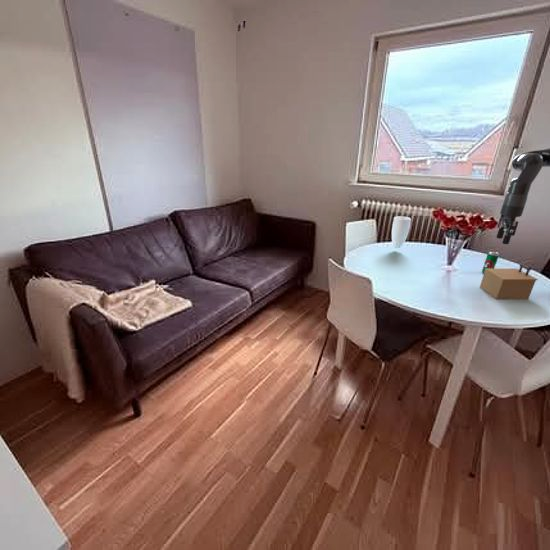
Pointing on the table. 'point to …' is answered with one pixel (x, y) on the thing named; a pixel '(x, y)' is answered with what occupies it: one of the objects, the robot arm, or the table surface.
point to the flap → (513, 273)
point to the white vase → (400, 230)
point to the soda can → (490, 261)
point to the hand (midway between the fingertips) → (502, 241)
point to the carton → (506, 287)
